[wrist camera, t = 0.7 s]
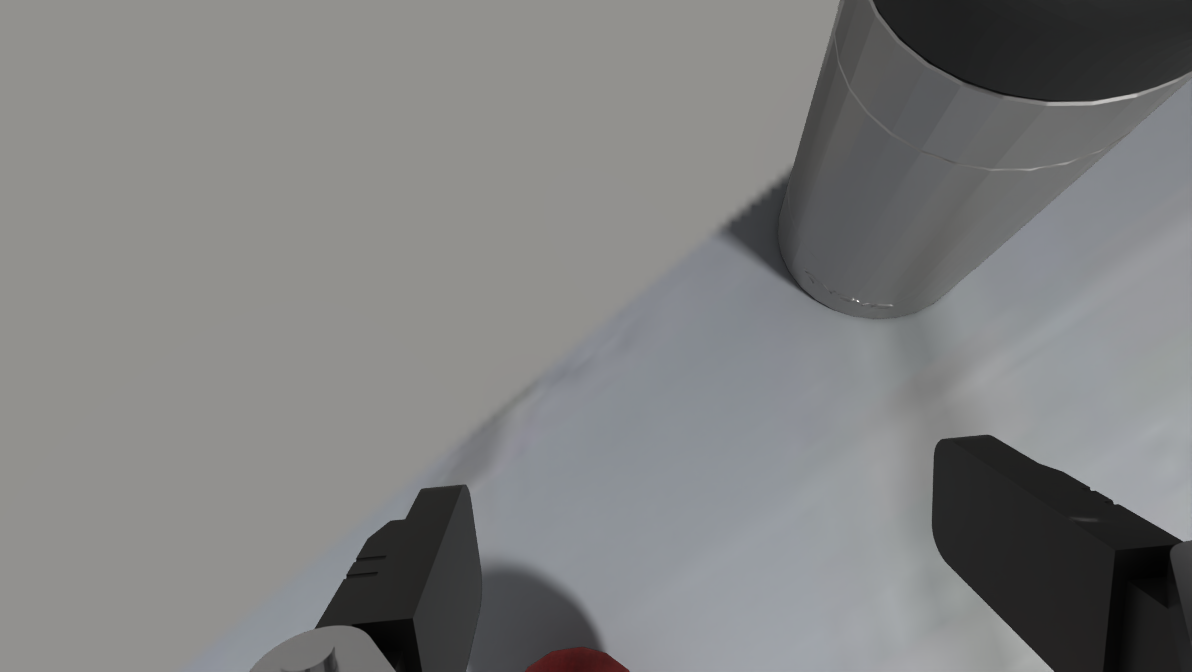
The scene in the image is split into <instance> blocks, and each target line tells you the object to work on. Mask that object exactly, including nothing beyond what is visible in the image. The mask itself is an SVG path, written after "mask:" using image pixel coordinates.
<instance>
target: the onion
mask: <svg viewBox="0 0 1192 672" xmlns="http://www.w3.org/2000/svg"><path fill="white" fill-rule="evenodd" d="M525 672H630V671H629V670H628V669H627V668H625V667H624V666H623V665H621V664H620V663H619V662H617V661H616V660H615V659H613V658H612V657H611V656H609V655H608V654H607V653H604V652H600V651H596V650H592V649H588V648H585V647H578V648H571V649H564V650H558V651H552V652H551V653H549V654H547V655H546V656H544V657H543V658H541V659H540V660H538V661H537V662H535V663H534V664H532V665H531V666H529V667H528V668H527V669H526V671H525Z"/></svg>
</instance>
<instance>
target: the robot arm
mask: <svg viewBox="0 0 1192 672" xmlns="http://www.w3.org/2000/svg"><path fill="white" fill-rule="evenodd" d="M1191 78H1192V0H840V2H839V5H838V11H837V14H836V18H835V22H834V25H833V28H832V32H831V36H830V39H829V43H828V46H827V50H826V53H825V57H824V60H823V64H822V67H821V71H820V74H819V78H818V81H817V85H816V88H815V92H814V95H813V99H812V102H811V106H810V110H809V113H808V117H807V120H806V124H805V127H804V131H803V134H802V138H801V141H800V145H799V149H798V152H797V155H796V159H795V162H794V166H793V169H792V172H791V175H790V179H789V183H788V186H787V190H786V194H785V197H784V201H783V205H782V209H781V212H780V216H779V220H778V241H779V245H780V250H781V255H782V257H783V259H784V261H785V264H786V266H787V268H788V270H789V272H790V273H791V275H792V276H793V277H794V279H795V280H796V281H797V282H798V284H799V285H800V286H801V287H802V288H803V289H804V290H805V291H806V292H807V293H809V294H810V295H811V296H812V297H813V298H814V299H816V300H817V301H819V302H821V303H823V304H824V305H826V306H828V307H830V308H832V309H833V310H836V311H839V312H842V313H845V314H848V315H851V316H855V317H862V318H870V319H885V318H897V317H901V316H905V315H908V314H912V313H916V312H918V311H920V310H922V309H924V308H926V307H928V306H930V305H932V304H934V303H935V302H936V301H938V300H939V299H940V298H941V297H942V296H944V295H945V294H946V293H947V292H949V291H950V290H951V289H952V288H953V287H954V286H955V285H957V284H958V283H959V282H960V281H961V280H962V279H964V278H965V277H966V276H967V275H968V274H969V273H970V272H972V271H973V270H974V269H976V268H977V267H978V266H979V265H980V264H981V263H982V262H984V261H985V260H986V259H987V258H988V257H989V256H990V255H992V254H993V253H994V252H995V251H996V250H997V249H998V248H1000V247H1001V246H1002V245H1003V244H1004V243H1005V242H1006V241H1007V240H1009V239H1010V238H1011V237H1012V236H1013V235H1014V234H1015V233H1017V232H1018V231H1019V230H1020V229H1021V228H1022V227H1023V226H1025V225H1026V224H1027V223H1028V222H1029V221H1030V220H1031V219H1033V218H1034V217H1035V216H1036V215H1037V214H1038V213H1039V212H1040V211H1042V210H1043V209H1044V208H1045V207H1046V206H1047V205H1048V204H1050V203H1051V202H1052V201H1053V200H1054V199H1055V198H1056V197H1058V196H1059V195H1060V194H1061V193H1062V192H1063V191H1064V190H1066V189H1067V188H1068V187H1069V186H1070V185H1071V184H1072V183H1073V182H1075V181H1076V180H1077V179H1078V178H1079V177H1080V176H1081V175H1083V174H1084V173H1085V172H1086V171H1087V170H1088V169H1089V168H1091V167H1092V166H1093V165H1094V164H1095V163H1096V162H1097V161H1099V160H1100V159H1101V158H1102V157H1103V156H1104V155H1105V154H1107V153H1108V152H1109V151H1110V150H1111V149H1112V148H1113V147H1114V146H1116V145H1117V144H1118V143H1119V142H1120V141H1121V140H1122V139H1124V138H1125V137H1126V136H1127V135H1128V134H1129V133H1130V132H1131V131H1132V130H1133V129H1134V128H1135V127H1136V126H1138V125H1139V124H1140V123H1141V122H1142V121H1143V120H1144V119H1145V118H1147V117H1148V116H1149V115H1150V114H1151V113H1152V112H1153V111H1155V110H1156V109H1157V108H1158V107H1159V106H1160V105H1161V104H1163V103H1164V102H1165V101H1166V100H1167V99H1168V98H1169V97H1170V96H1172V95H1173V94H1174V93H1175V92H1176V91H1177V90H1178V89H1180V88H1181V87H1182V86H1183V85H1184V84H1185V83H1186V82H1188V81H1189V80H1190V79H1191ZM932 531H933V536H934V540H935V543H936V546H937V548H938V551H939V553H940V554H941V556H942V558H943V559H944V561H945V562H946V563H947V564H948V565H949V566H950V567H951V568H952V569H953V570H954V571H955V572H956V573H957V574H958V575H959V576H960V577H961V578H962V579H963V580H964V581H965V582H966V583H967V584H968V585H969V586H970V587H971V588H972V589H973V590H974V591H975V592H976V593H977V594H978V595H979V596H980V597H981V598H982V599H983V600H984V601H985V602H986V603H987V604H988V605H989V606H990V607H991V608H992V609H993V610H994V611H995V612H996V613H997V614H998V615H999V616H1000V617H1001V618H1002V619H1003V620H1004V621H1005V622H1006V623H1007V624H1008V625H1009V626H1010V627H1011V628H1012V629H1013V630H1014V631H1015V632H1016V633H1017V634H1018V635H1019V636H1020V637H1021V638H1022V639H1023V640H1024V641H1025V642H1026V643H1027V644H1028V645H1029V646H1030V647H1031V648H1032V649H1033V650H1034V651H1035V652H1036V653H1037V654H1038V655H1039V656H1040V657H1041V658H1042V659H1043V661H1044V662H1045V663H1046V664H1047V665H1048V666H1049V667H1050V668H1051V669H1052V670H1053V671H1054V672H1192V540H1191V541H1186V542H1183V541H1181V540H1180V539H1178V538H1176V537H1174V536H1173V535H1171V534H1169V533H1168V532H1166V531H1164V530H1162V529H1161V528H1159V527H1157V526H1156V525H1154V524H1152V523H1150V522H1149V521H1147V520H1145V519H1143V518H1142V517H1140V516H1138V515H1137V514H1135V513H1133V512H1131V511H1130V510H1128V509H1126V508H1124V507H1123V506H1121V505H1119V504H1116V505H1114V504H1113V501H1112V500H1111V499H1109V498H1107V497H1105V496H1104V495H1102V494H1100V493H1099V492H1097V491H1091V490H1090V487H1088V486H1086V485H1085V484H1083V483H1081V482H1080V481H1078V480H1076V479H1074V478H1073V477H1071V476H1069V475H1068V474H1066V473H1064V472H1062V471H1059V470H1056V469H1053V468H1050V467H1047V466H1045V465H1042V464H1039V463H1037V462H1035V461H1034V460H1032V459H1030V458H1029V457H1027V456H1025V455H1024V454H1022V453H1020V452H1018V451H1017V450H1015V449H1013V448H1012V447H1010V446H1008V445H1007V444H1005V443H1003V442H1002V441H1000V440H998V439H996V438H995V437H993V436H991V435H979V436H968V437H958V438H948V439H942V440H940V441H939V442H938V443H937V445H936V448H935V452H934V469H933V502H932ZM481 599H482V575H481V565H480V558H479V551H478V544H477V538H476V531H475V524H474V517H473V510H472V503H471V497H470V493H469V489H468V487H467V485H455V486H444V487H434V488H424V489H421V490H420V492H419V494H418V496H417V498H416V499H415V501H414V503H413V505H412V507H411V509H410V511H409V513H408V515H407V517H406V519H404V520H394V521H389V522H388V523H387V524H386V525H384V526H383V527H382V528H381V529H379V530H378V531H377V532H376V533H374V534H373V535H372V536H371V537H369V538H368V539H367V541H366V543H365V544H364V546H363V548H362V549H361V551H360V553H359V555H358V556H357V558H356V562H354V563H353V565H352V566H351V568H350V570H349V571H348V573H347V578H346V579H344V580H343V582H342V583H341V585H340V587H339V588H338V590H337V592H336V593H335V595H334V597H333V599H332V600H331V602H330V604H329V605H328V607H327V609H326V610H325V612H324V614H323V615H322V617H321V619H320V621H319V622H318V624H317V626H316V627H315V629H314V630H310V631H307V632H304V633H302V634H299V635H297V636H294V637H292V638H290V639H288V640H287V641H285V642H283V643H281V644H280V645H278V646H276V647H275V648H273V649H272V650H271V651H269V652H268V653H267V654H265V655H264V656H263V657H262V658H261V659H260V660H259V661H258V662H257V663H256V664H255V665H254V666H253V668H252V669H251V670H250V672H466V669H467V665H468V660H469V656H470V651H471V647H472V643H473V638H474V634H475V629H476V625H477V620H478V616H479V611H480V607H481Z"/></svg>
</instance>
